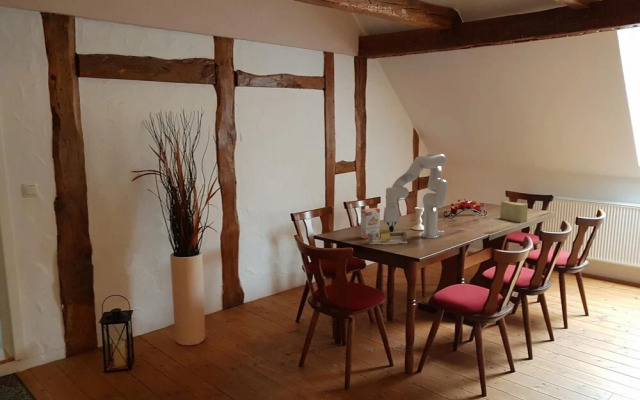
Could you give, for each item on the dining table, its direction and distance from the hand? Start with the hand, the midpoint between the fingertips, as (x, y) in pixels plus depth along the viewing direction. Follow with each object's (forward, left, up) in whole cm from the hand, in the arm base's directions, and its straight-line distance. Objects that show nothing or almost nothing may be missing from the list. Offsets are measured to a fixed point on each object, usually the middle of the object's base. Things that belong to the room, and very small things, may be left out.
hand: (391, 231), depth 335 cm
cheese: (-116, -54, -8) cm, 128 cm away
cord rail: (+3, 0, -8) cm, 8 cm away
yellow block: (+5, 0, -6) cm, 7 cm away
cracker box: (+11, -18, -8) cm, 23 cm away
